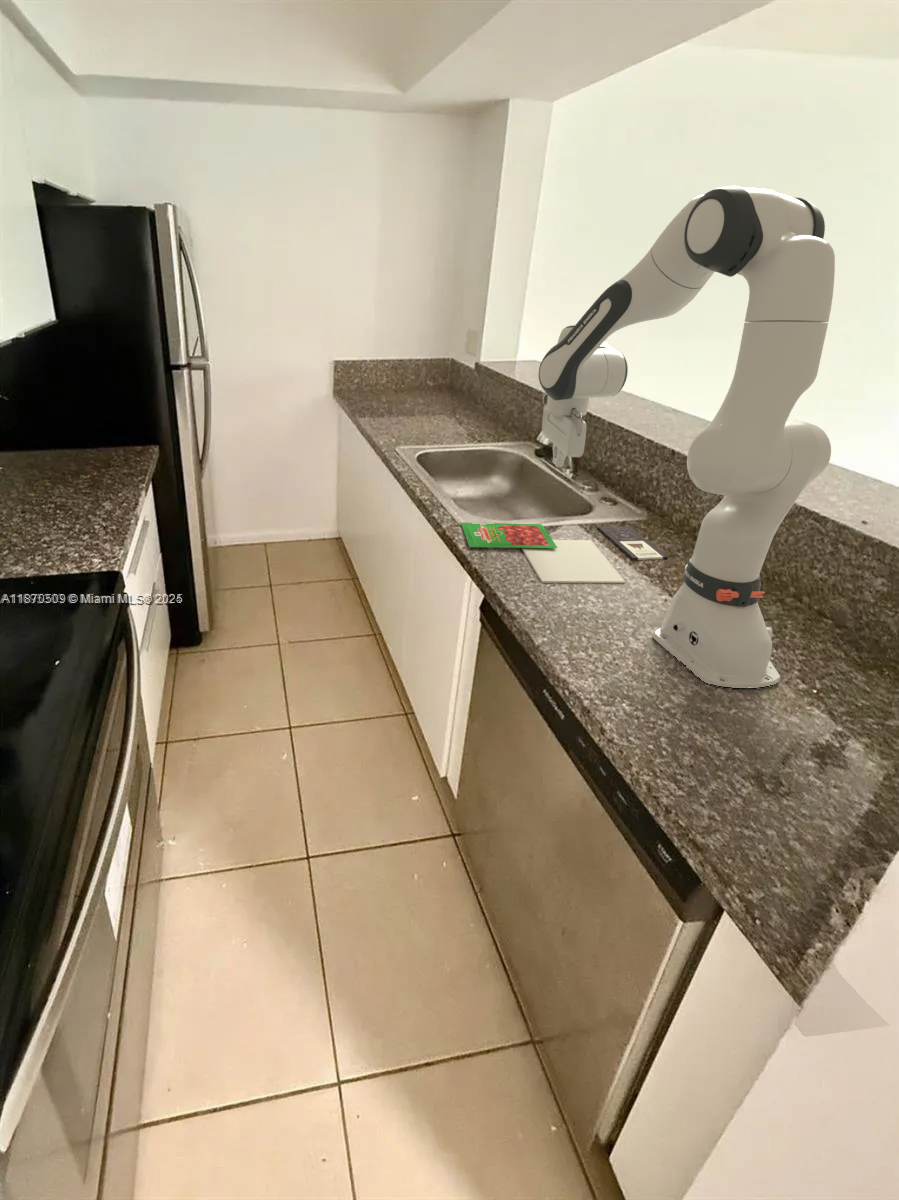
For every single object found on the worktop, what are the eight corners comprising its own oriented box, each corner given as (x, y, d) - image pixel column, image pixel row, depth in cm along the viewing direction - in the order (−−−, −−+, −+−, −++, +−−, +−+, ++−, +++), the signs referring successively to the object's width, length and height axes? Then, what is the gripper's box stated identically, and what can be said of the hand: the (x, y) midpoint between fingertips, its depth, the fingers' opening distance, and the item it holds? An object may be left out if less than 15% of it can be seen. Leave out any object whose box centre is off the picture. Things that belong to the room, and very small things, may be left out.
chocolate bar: (630, 526, 163) (668, 556, 148) (629, 529, 164) (667, 560, 148) (597, 526, 161) (633, 557, 146) (596, 530, 161) (632, 561, 146)
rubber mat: (624, 583, 135) (625, 581, 135) (541, 582, 132) (542, 581, 132) (590, 541, 153) (590, 540, 153) (516, 540, 150) (517, 539, 150)
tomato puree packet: (557, 545, 145) (469, 544, 143) (557, 550, 146) (469, 549, 143) (541, 522, 159) (460, 520, 156) (541, 526, 159) (460, 524, 157)
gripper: (597, 415, 134) (585, 480, 141) (567, 395, 152) (557, 453, 159) (568, 414, 133) (558, 479, 140) (541, 393, 151) (533, 452, 158)
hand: (557, 465), depth 149 cm, fingers closed
